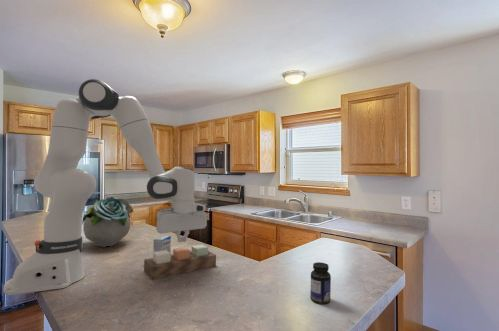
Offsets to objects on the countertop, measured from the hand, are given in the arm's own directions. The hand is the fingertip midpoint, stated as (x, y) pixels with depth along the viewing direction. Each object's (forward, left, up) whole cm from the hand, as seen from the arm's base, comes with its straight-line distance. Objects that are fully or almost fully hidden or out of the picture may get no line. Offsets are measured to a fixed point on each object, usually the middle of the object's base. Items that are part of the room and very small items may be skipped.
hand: (182, 241), depth 112 cm
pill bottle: (+25, -49, -11) cm, 56 cm away
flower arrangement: (-18, +51, -11) cm, 55 cm away
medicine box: (-1, +19, -11) cm, 22 cm away
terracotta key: (0, 0, -8) cm, 8 cm away
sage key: (+8, 0, -8) cm, 11 cm away
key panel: (0, 0, -11) cm, 11 cm away
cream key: (-8, 0, -8) cm, 11 cm away
